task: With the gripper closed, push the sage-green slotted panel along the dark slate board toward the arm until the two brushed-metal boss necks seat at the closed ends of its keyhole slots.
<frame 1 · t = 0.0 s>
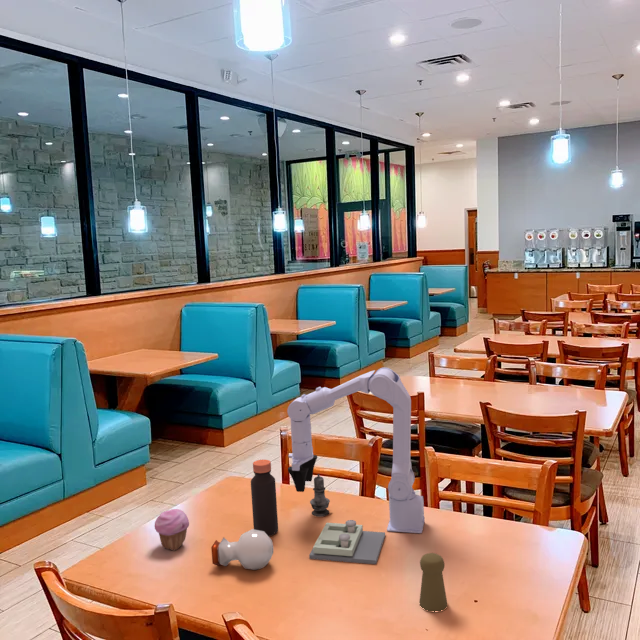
hand: (304, 486, 177), 10 cm above the table, tool pointing down, fingers open, 7 cm apart
olive pawn: (433, 605, 134), on the table
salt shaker: (320, 513, 183), on the table
cupcake: (174, 547, 166), on the table
vinegar: (266, 532, 172), on the table
boss board: (348, 546, 161), on the table
potion bottle: (244, 568, 154), on the table
panel: (338, 538, 162), point 2 cm above the table, slide at 0.0 cm
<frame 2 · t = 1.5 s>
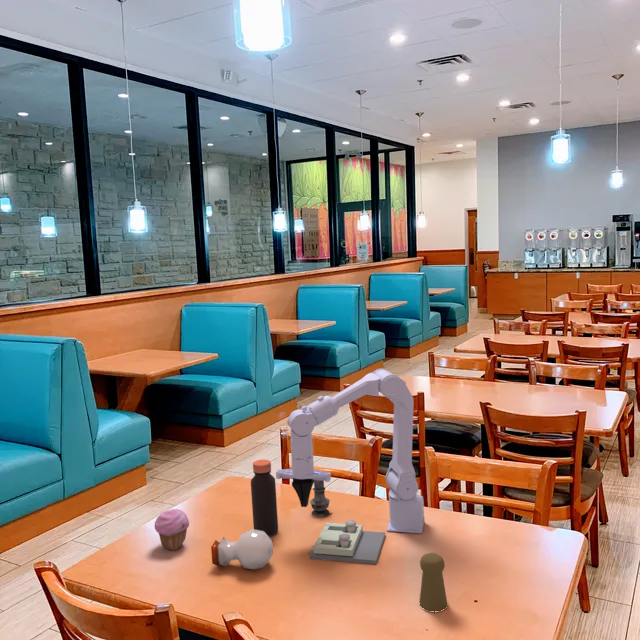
hand: (304, 505, 164), 10 cm above the table, tool pointing down, fingers closed
nothing on the table moved.
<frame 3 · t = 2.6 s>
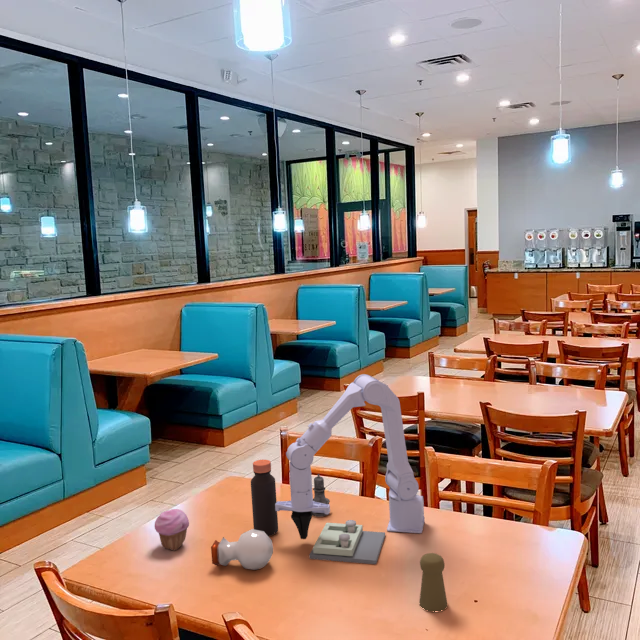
hand: (304, 537, 164), 2 cm above the table, tool pointing down, fingers closed
nothing on the table moved.
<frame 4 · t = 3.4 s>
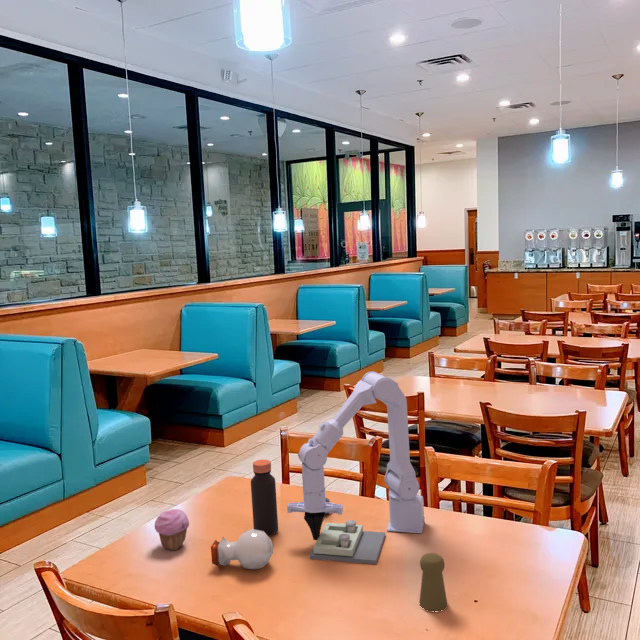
hand: (316, 538, 163), 2 cm above the table, tool pointing down, fingers closed
panel: (338, 538, 162), point 2 cm above the table, slide at 0.0 cm, touching gripper
everything else where it was.
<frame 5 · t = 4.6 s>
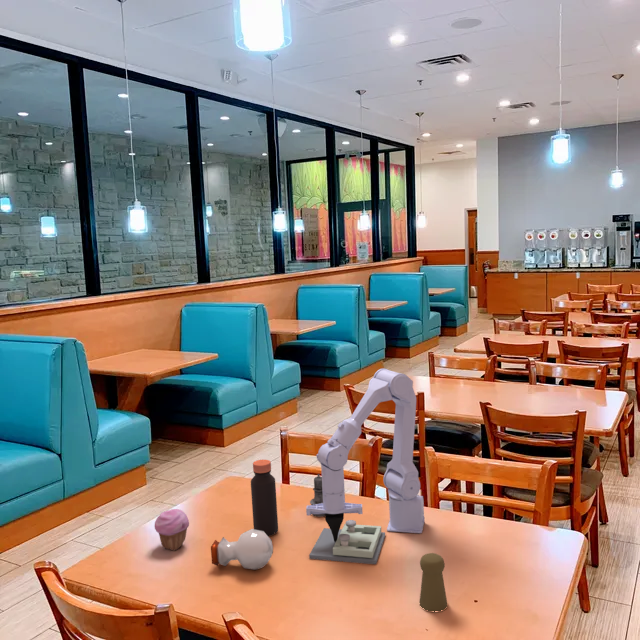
hand: (335, 539, 162), 2 cm above the table, tool pointing down, fingers closed
panel: (357, 540, 160), point 2 cm above the table, slide at 5.1 cm, touching gripper
everything else where it was.
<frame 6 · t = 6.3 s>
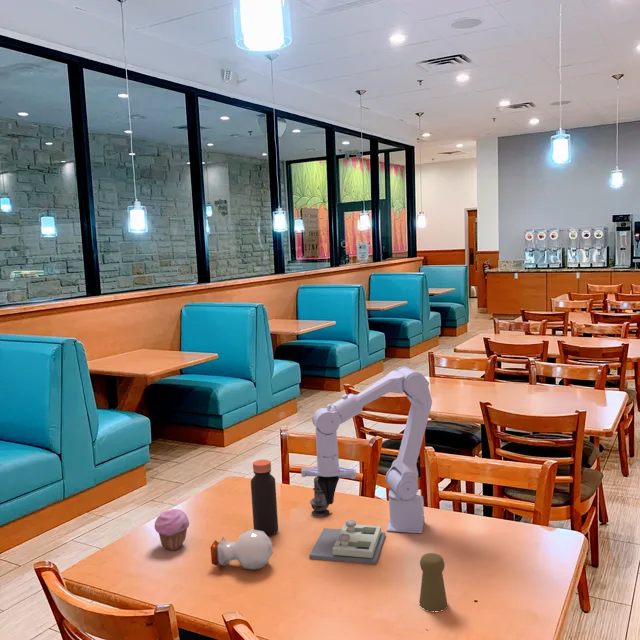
hand: (330, 502, 166), 10 cm above the table, tool pointing down, fingers closed
panel: (357, 540, 160), point 2 cm above the table, slide at 5.0 cm
everything else where it was.
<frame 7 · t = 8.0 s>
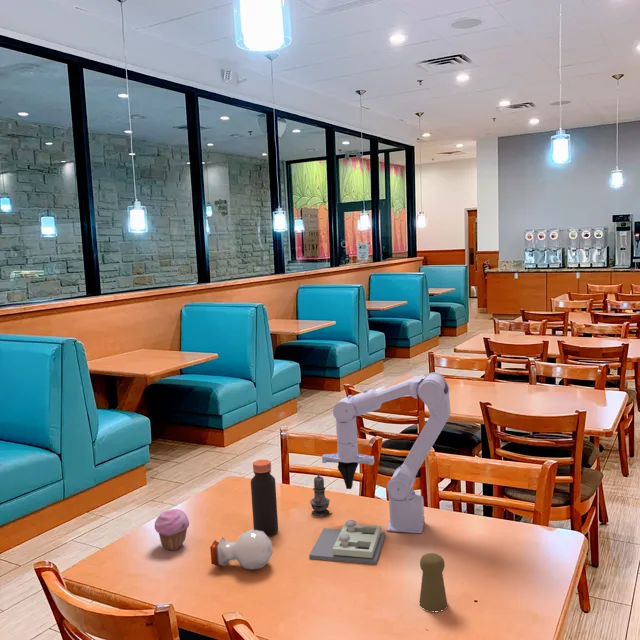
hand: (349, 487, 175), 10 cm above the table, tool pointing down, fingers closed
nothing on the table moved.
at the end: panel slide at 5.0 cm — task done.
